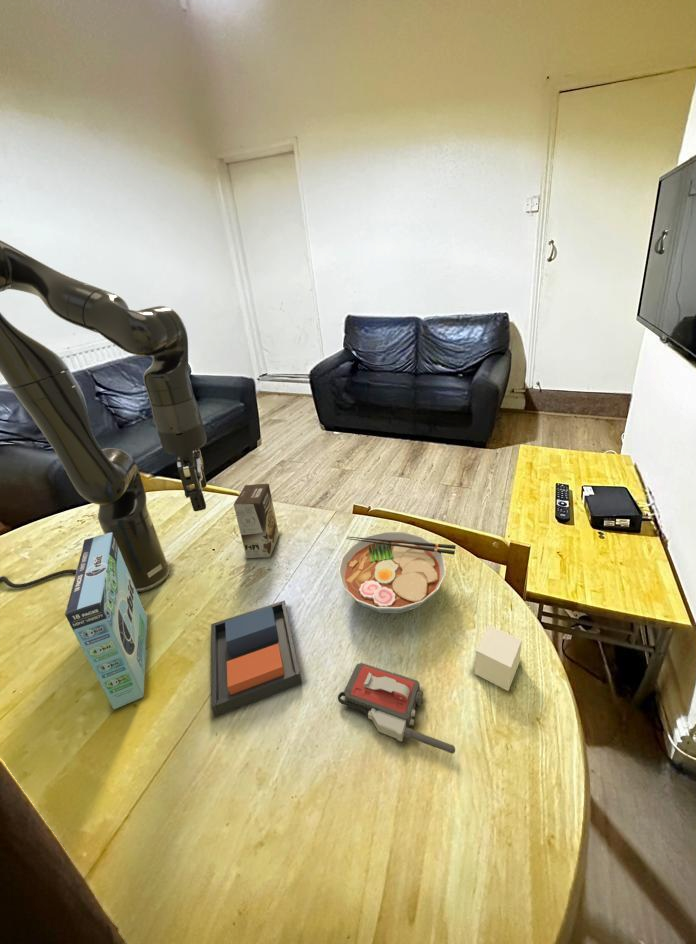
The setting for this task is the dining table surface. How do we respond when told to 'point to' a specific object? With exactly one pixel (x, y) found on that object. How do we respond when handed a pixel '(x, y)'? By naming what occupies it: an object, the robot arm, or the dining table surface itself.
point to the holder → (221, 655)
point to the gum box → (109, 620)
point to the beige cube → (498, 657)
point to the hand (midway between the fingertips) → (200, 498)
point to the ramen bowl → (393, 571)
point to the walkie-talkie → (388, 702)
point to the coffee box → (256, 520)
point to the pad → (254, 669)
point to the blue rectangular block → (250, 631)
